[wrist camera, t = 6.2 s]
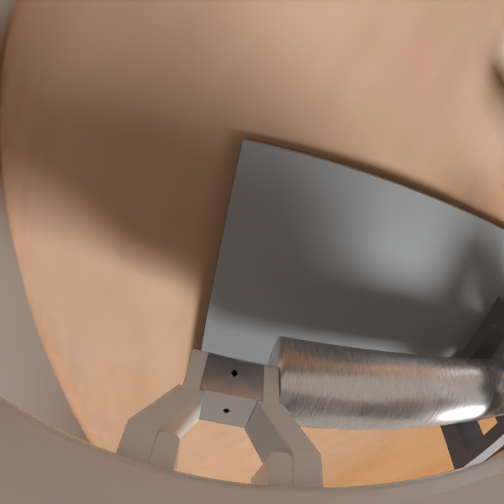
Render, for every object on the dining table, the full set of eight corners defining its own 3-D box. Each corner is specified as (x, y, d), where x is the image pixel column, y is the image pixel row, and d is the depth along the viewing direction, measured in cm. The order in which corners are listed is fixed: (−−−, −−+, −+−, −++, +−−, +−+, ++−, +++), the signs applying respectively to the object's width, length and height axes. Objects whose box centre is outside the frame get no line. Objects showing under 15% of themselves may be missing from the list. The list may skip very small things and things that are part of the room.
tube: (285, 312, 11) (289, 389, 8) (551, 346, 12) (573, 379, 9) (261, 373, 12) (258, 443, 9) (523, 382, 13) (541, 415, 10)
